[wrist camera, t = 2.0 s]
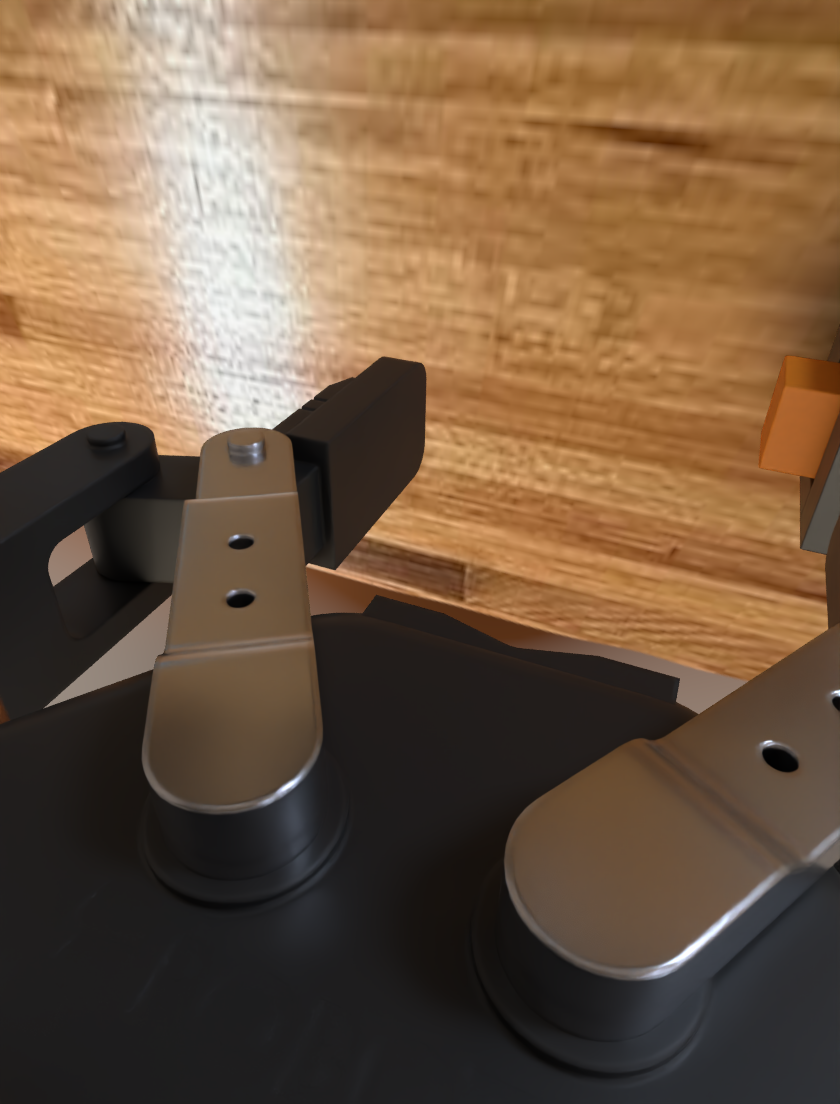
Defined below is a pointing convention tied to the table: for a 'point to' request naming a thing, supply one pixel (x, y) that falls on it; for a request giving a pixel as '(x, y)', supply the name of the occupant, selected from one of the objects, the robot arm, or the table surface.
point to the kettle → (822, 488)
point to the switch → (800, 416)
